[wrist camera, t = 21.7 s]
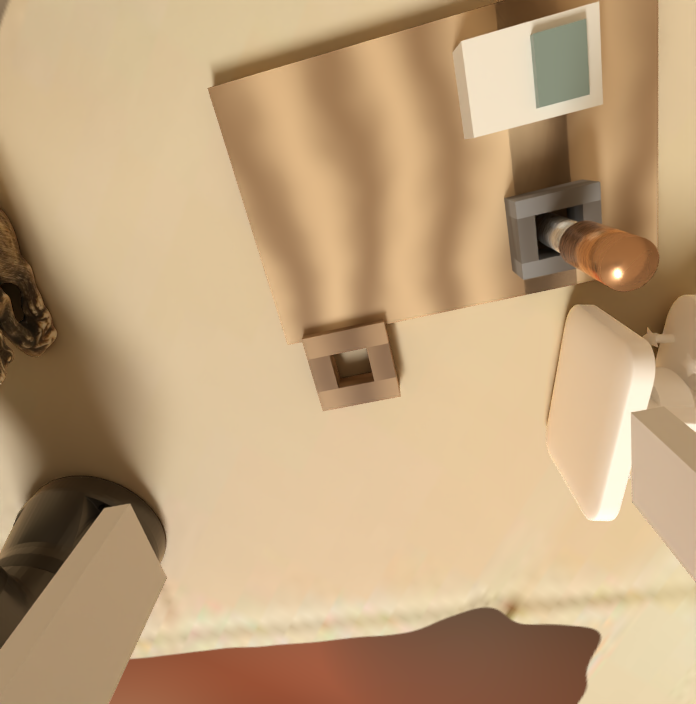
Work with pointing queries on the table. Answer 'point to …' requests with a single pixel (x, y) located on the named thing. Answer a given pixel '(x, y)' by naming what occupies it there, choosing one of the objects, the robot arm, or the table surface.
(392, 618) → the table surface
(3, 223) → the figurine
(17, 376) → the table surface
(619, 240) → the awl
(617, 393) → the cable organizer
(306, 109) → the plywood panel
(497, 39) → the block
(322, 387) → the tool rest
